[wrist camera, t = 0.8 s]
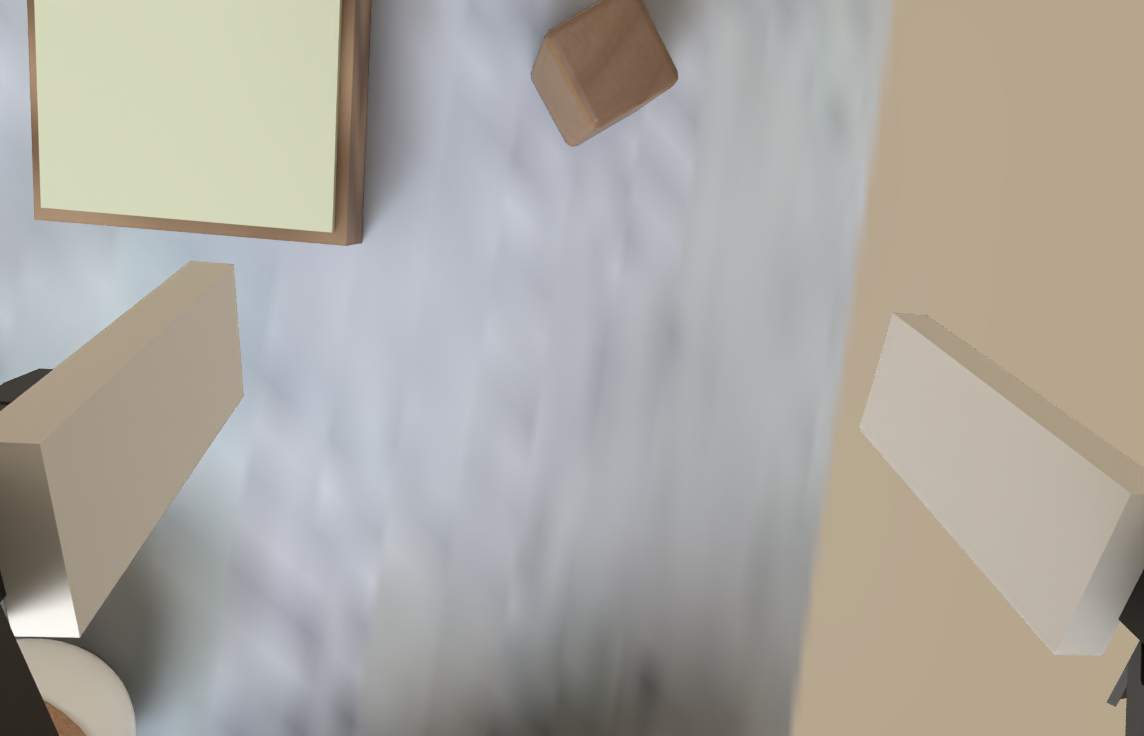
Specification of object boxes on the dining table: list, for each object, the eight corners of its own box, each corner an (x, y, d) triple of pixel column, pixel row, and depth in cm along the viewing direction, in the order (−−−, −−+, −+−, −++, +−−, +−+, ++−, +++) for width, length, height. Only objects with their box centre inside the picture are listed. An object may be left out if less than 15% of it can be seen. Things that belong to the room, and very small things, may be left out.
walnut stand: (361, 243, 36) (344, 246, 32) (90, 220, 35) (27, 219, 30) (378, -176, 33) (361, -244, 28) (80, -223, 32) (8, -304, 27)
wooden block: (640, 109, 37) (684, 78, 29) (568, 150, 37) (594, 131, 29) (600, 30, 36) (635, -23, 28) (526, 73, 36) (541, 32, 28)
